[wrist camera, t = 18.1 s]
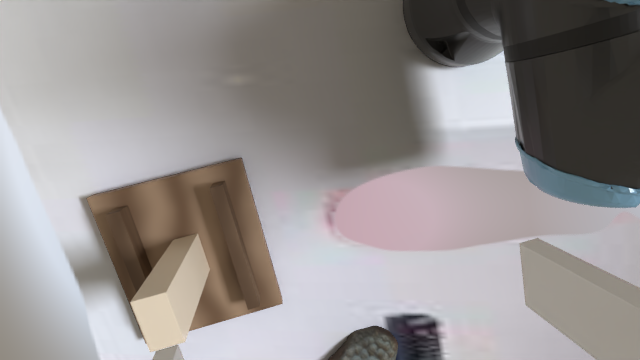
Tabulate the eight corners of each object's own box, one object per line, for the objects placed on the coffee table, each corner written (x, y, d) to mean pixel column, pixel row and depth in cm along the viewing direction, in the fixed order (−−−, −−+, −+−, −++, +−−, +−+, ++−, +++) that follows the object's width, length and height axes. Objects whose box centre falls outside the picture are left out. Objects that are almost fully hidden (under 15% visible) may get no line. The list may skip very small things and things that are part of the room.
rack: (241, 157, 43) (239, 162, 39) (282, 297, 48) (283, 314, 44) (92, 194, 42) (74, 204, 38) (149, 336, 46) (138, 357, 42)
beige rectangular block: (197, 233, 43) (166, 292, 29) (209, 269, 44) (185, 341, 31) (173, 239, 43) (129, 302, 29) (186, 276, 44) (150, 352, 30)
